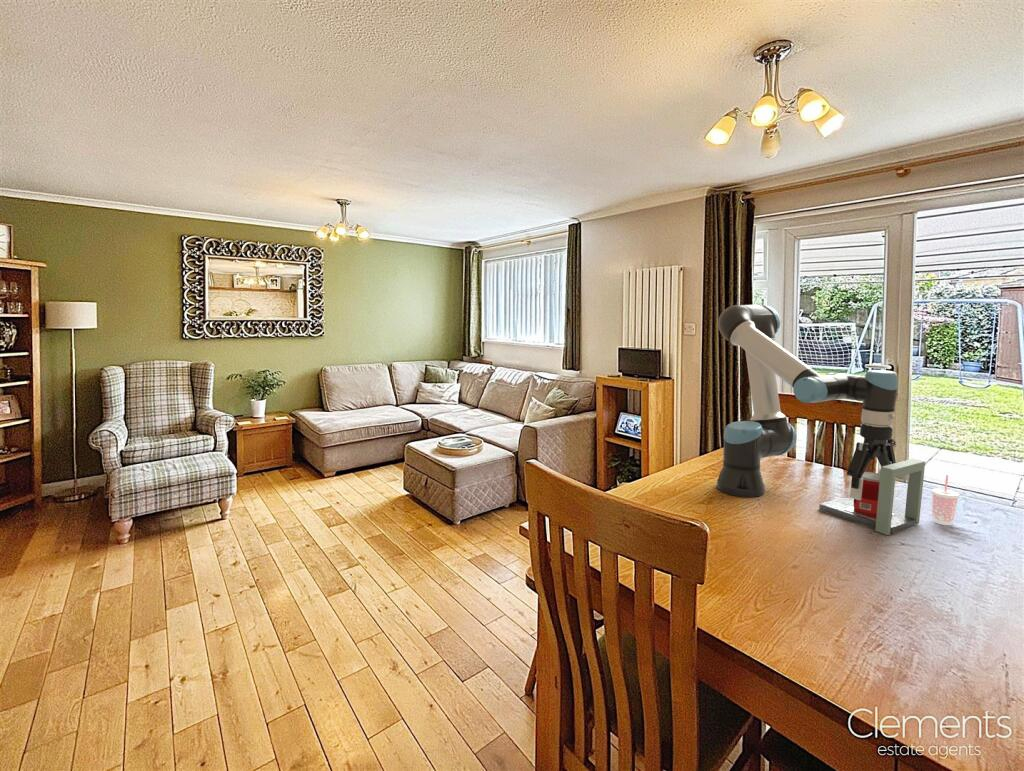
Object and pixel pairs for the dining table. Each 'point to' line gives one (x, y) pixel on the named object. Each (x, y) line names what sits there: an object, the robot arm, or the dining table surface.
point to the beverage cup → (944, 505)
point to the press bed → (846, 511)
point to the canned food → (868, 494)
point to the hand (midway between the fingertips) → (869, 494)
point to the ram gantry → (900, 470)
